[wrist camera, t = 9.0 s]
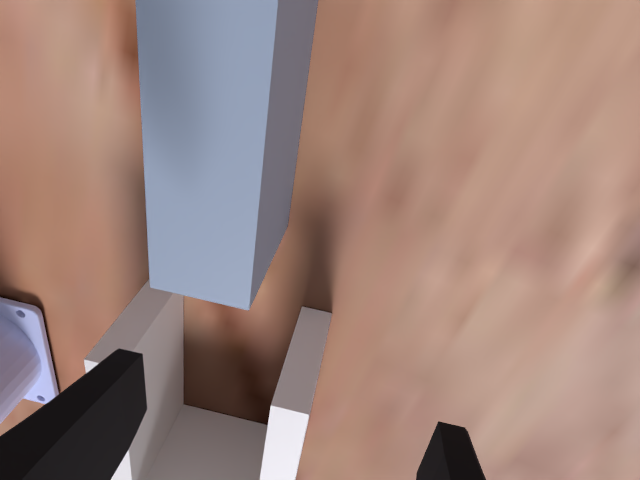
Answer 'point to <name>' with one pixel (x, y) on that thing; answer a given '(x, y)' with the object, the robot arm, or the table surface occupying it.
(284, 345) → the table surface
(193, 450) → the white u-shaped channel
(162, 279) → the tall pale blue pillar
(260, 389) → the table surface
